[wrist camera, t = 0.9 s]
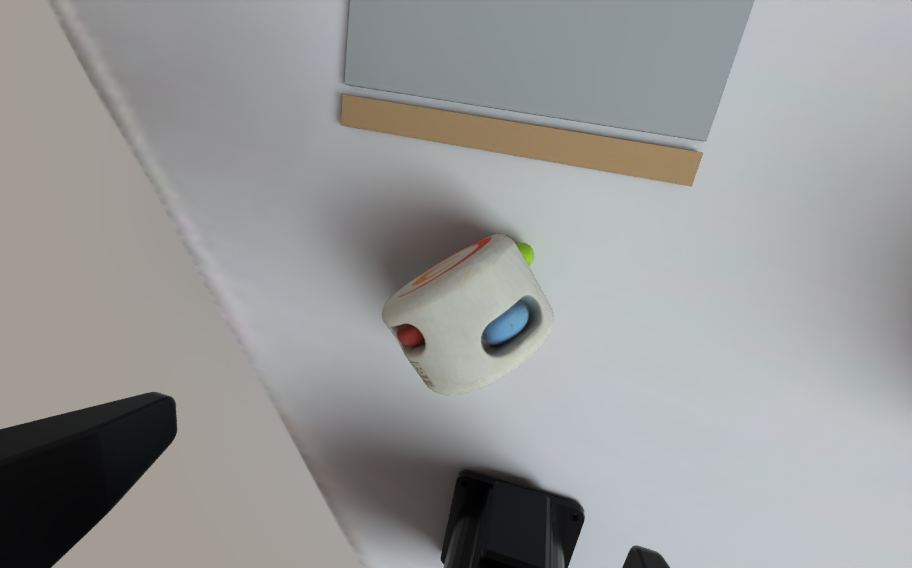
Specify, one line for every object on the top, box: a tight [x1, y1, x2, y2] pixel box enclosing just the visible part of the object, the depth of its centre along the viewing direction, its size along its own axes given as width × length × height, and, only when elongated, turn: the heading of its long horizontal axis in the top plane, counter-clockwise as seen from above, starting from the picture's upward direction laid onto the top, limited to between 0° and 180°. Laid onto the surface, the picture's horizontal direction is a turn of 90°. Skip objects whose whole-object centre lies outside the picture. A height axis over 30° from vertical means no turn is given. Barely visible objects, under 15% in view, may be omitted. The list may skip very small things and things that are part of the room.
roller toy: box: [382, 234, 554, 395], centre depth 16 cm, size 4×6×6 cm
